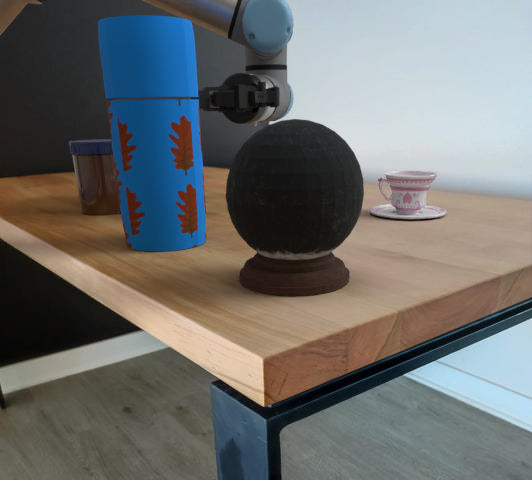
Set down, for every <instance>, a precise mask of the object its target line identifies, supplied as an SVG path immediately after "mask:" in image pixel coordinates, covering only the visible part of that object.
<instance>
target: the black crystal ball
mask: <svg viewBox="0 0 532 480" xmlns="http://www.w3.org/2000/svg"><path fill="white" fill-rule="evenodd" d="M225 185H226V186H225V200H226V207H227V212H228V214H229V217H230V220H231V223H232V225H233V227H234V228H235V230H236V231H237V234H238V236H240V238H241V239H242V240H243V241H244V243H246V244H247V245H248V247H249V248H251V249H252V250H254V251H255V252H256V253H255V254H254V255H253V256H252V257H250V258H249V259H247V260H246V261H245V262H244V264H243V267H242V268H241V269H240V270H239V274H238V275H239V283H240V285H241V286H243V287H244V288H245V289H248V290H250V291H254V292H256V293H260V294H266V295H270V296H281V297H282V296H283V297H284V296H285V297H306V296H317V295H322V294H327V293H331V292H336V291H338V290H341V289H342V288H344V287H346V286H347V285H348V284H349V283H350V270H349V268H348V267H346V263H345V262H344V261H343V259H341V258H339V257H338V256H336V255H335V254H334V253H333V251H334V250H336V249H337V248H338V247H340V246H341V245H342V244H343V243H344V242H345V241H346V240H347V239H348V237H349V236H350V235H351V233H352V232H353V230H354V228H355V226H356V225H357V223H358V221H359V217H360V215H361V212H362V210H363V203H364V195H365V189H364V177H363V173H362V167H361V165H360V162H359V160H358V158H357V156H356V154H355V152H354V151H353V149H352V148H351V146H350V145H349V143H348V142H347V141H346V140H345V139H344V138H343V137H342V136H341V135H340V134H338V132H337V131H335V130H333V129H331V128H330V127H328V126H326V125H324V124H323V123H319V122H316V121H314V120H313V121H312V120H309V119H302V118H301V119H300V118H292V119H283V120H282V119H281V120H279V121H275V122H273V123H269V124H267V125H266V126H264V127H262V128H260V129H259V130H257V131H255V132H254V133H253V134H252V135H251V136H250V137H249V138H248V139H246V140H245V141H244V143H243V144H242V145H241V147H240V148H239V149H238V151H237V152H236V153H235V156H234V158H233V160H232V162H231V164H230V167H229V169H228V174H227V178H226V184H225Z"/></svg>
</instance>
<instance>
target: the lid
mask: <svg viewBox="0 0 532 480" xmlns="http://www.w3.org/2000/svg"><path fill="white" fill-rule="evenodd" d="M68 149H69V153H70V154H72V155H73V154H104V153H113V149H112V141H111V138H108V139H106V138H104V139H101V138H100V139H98V138H97V139H80V140H79V139H77V140H69V141H68Z"/></svg>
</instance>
